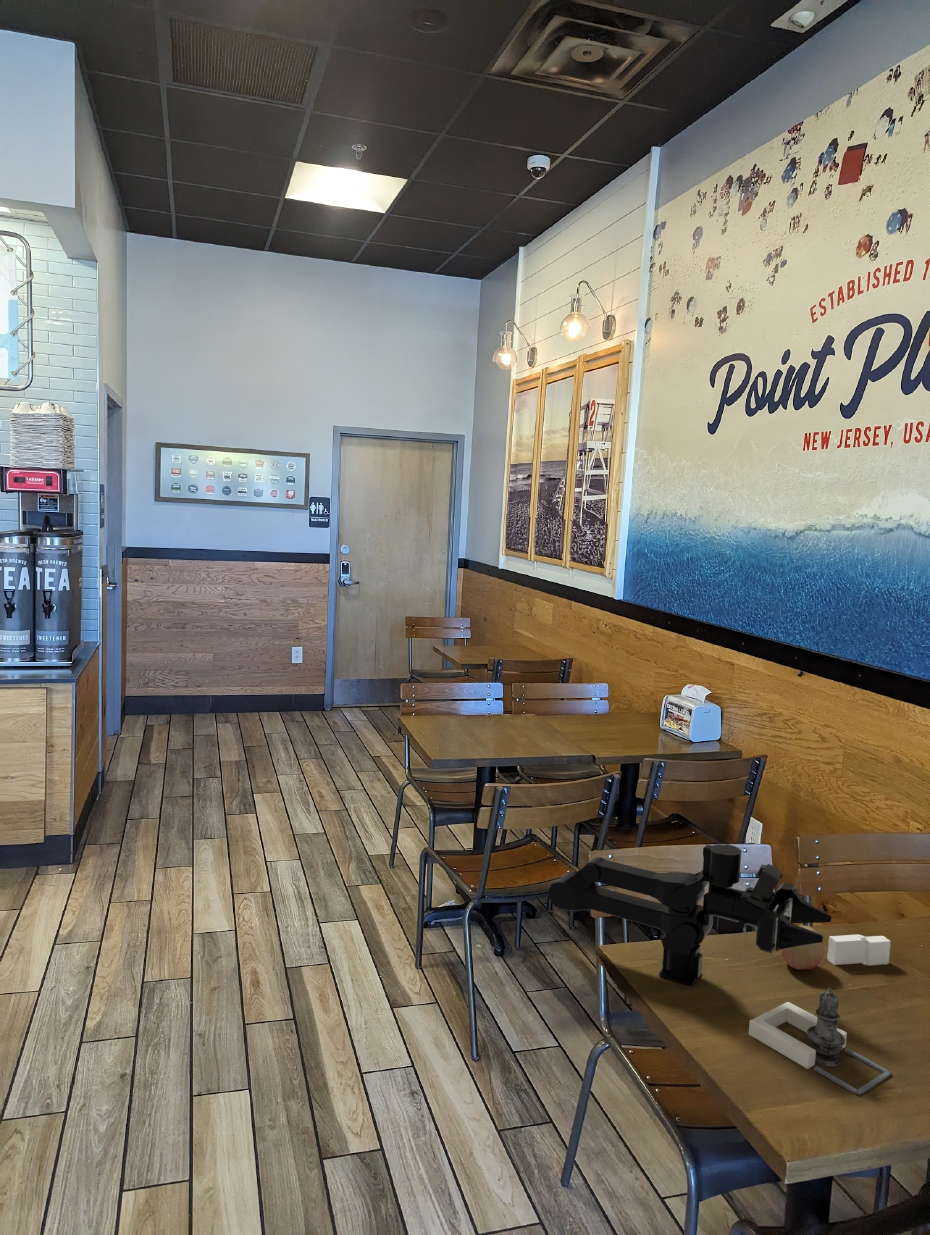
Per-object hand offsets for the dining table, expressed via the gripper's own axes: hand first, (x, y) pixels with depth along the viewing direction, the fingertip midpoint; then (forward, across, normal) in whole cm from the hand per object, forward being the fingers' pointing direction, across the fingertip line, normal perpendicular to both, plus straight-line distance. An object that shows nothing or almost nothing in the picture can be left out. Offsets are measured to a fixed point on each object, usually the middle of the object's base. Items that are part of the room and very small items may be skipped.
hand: (827, 928), depth 153 cm
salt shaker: (+3, -12, +17) cm, 21 cm away
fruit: (-6, +17, +17) cm, 25 cm away
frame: (+7, -14, +16) cm, 23 cm away
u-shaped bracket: (-2, -10, +17) cm, 19 cm away
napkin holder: (+4, +26, +17) cm, 32 cm away
